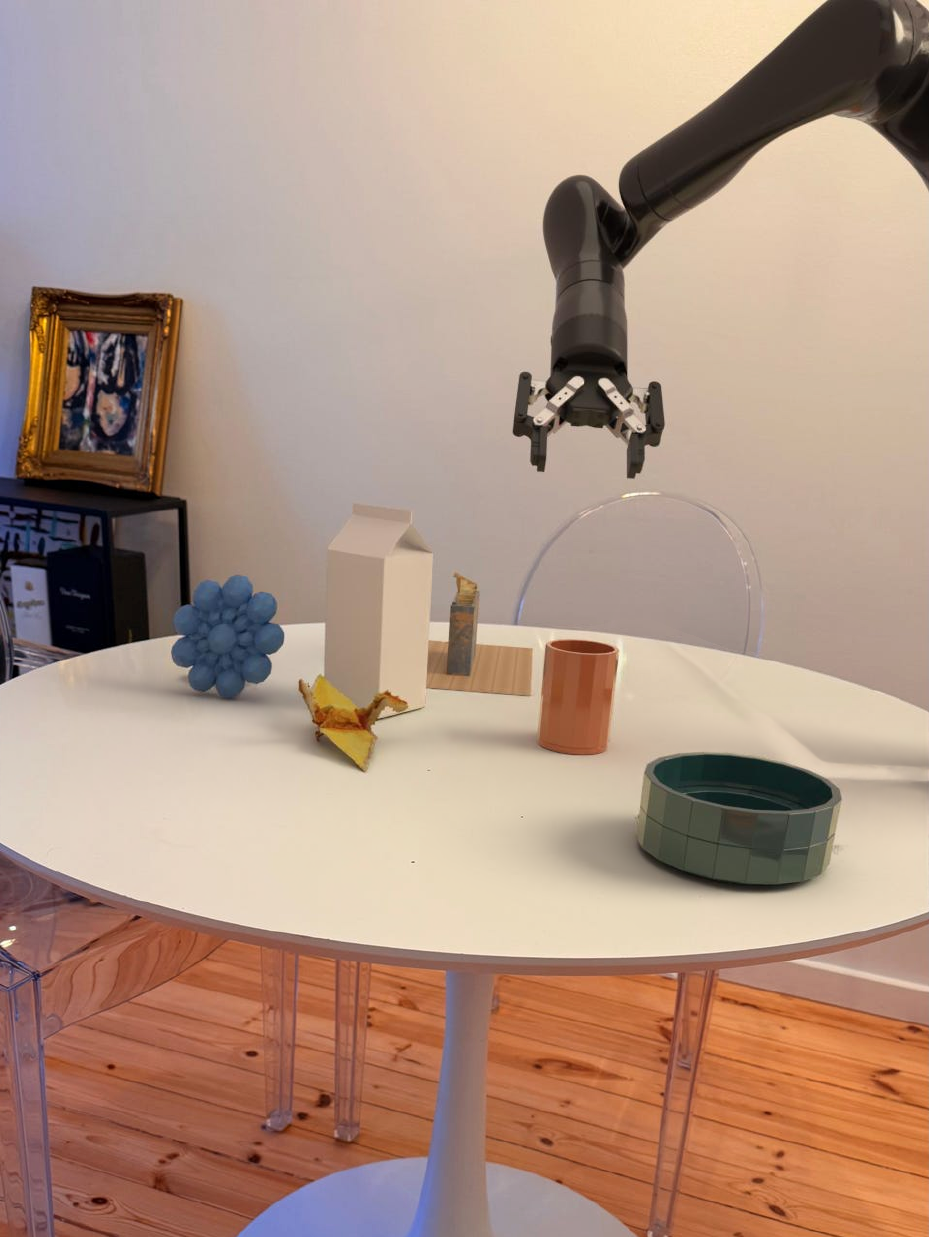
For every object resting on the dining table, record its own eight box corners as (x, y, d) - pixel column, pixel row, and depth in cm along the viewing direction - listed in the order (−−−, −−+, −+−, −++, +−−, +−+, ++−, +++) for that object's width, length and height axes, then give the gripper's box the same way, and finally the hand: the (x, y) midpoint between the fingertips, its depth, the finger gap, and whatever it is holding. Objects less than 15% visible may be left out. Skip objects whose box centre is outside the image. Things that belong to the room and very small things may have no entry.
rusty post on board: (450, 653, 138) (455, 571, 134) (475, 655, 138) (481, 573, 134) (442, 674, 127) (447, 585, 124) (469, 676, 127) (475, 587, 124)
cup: (600, 735, 107) (611, 641, 104) (613, 756, 101) (625, 656, 98) (533, 733, 107) (541, 637, 104) (542, 753, 101) (551, 652, 98)
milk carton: (377, 721, 107) (386, 512, 101) (322, 705, 111) (327, 503, 104) (425, 708, 113) (436, 509, 106) (371, 694, 116) (378, 501, 110)
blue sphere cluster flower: (300, 695, 114) (302, 574, 110) (273, 711, 108) (274, 583, 104) (193, 681, 117) (191, 562, 113) (160, 696, 111) (157, 570, 106)
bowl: (789, 824, 87) (801, 755, 85) (857, 895, 75) (873, 817, 73) (619, 818, 86) (627, 748, 84) (660, 889, 74) (671, 809, 72)
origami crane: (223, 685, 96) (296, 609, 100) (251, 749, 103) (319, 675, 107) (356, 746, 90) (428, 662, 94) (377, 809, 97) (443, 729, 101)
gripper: (521, 305, 110) (514, 434, 103) (668, 316, 110) (671, 446, 103) (514, 366, 117) (508, 491, 110) (653, 376, 117) (655, 501, 110)
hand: (587, 469), depth 107 cm, fingers open, 8 cm apart
